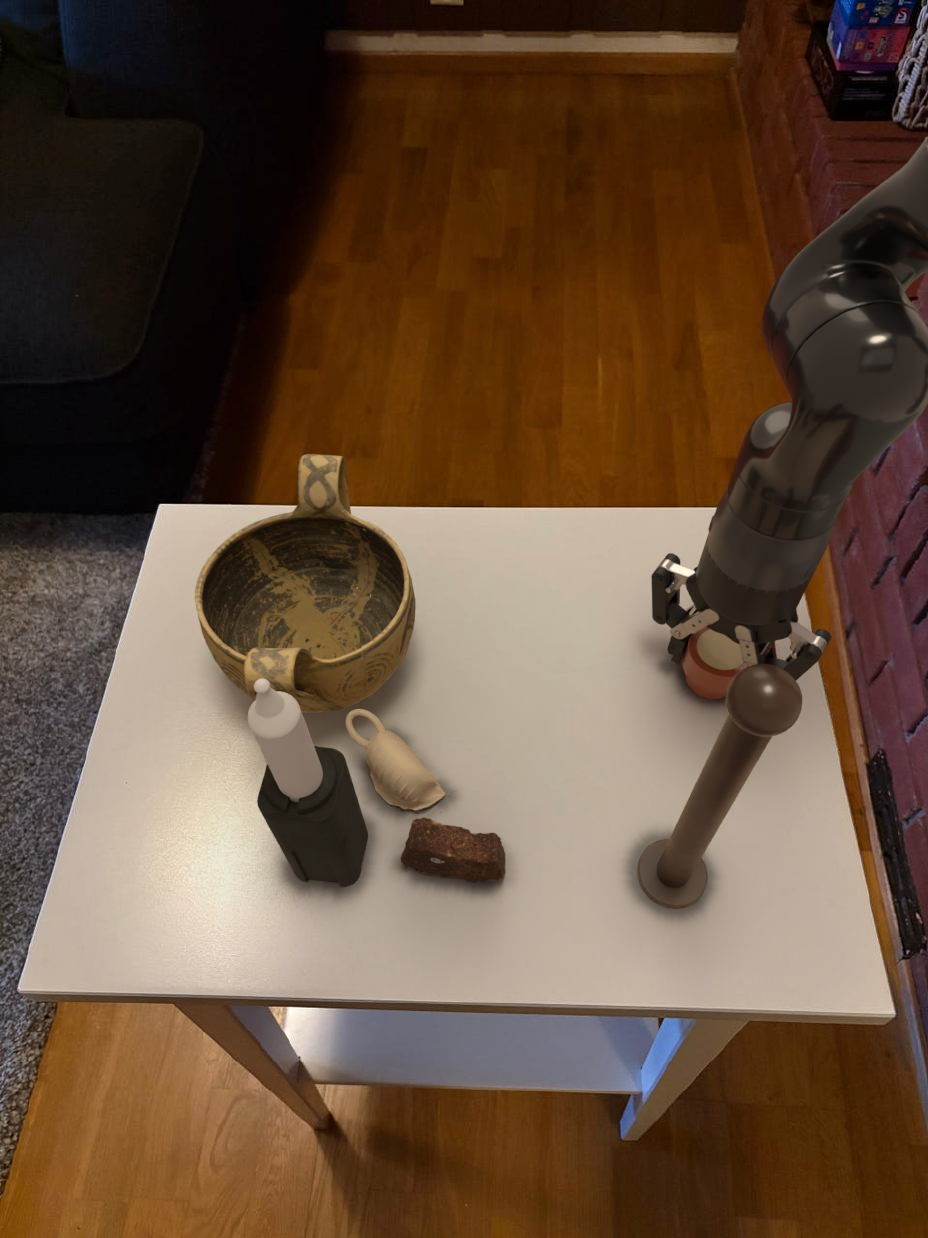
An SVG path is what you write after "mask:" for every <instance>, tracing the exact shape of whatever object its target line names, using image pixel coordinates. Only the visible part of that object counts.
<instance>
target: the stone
mask: <svg viewBox="0 0 928 1238" xmlns="http://www.w3.org/2000/svg"><path fill="white" fill-rule="evenodd" d="M501 840H502V838H501V836H499V835H498V834H497V833H496V832H488V833H485V832H483V833H482V832H478V833H472V831H470V829H468V828H464V827H462V826H457V825H451V824H450V825H449V824H442V823H441V822H436V821H435V820H433V819H432V818H427V817H421V818H414V819H413V820H412V822H411V826H410V829H409V832H408V837H407V839H406V840H405V843H404V844H405V847H404V849H403V851H402V853H401V855H400V862H401V864H402V865H404V866H405V867H407V868H409V869H411V870H415V871H416V872H419V873H424V874H426V875H427V876H436V877H441V878H452V877H453V878H458V879H464V880H466V881H467V882H470V883H474V884H475V883H477V882H478V883H482V882H487V881H500V880H503V879H504V877H505V875H506V851H505V848H504V846H503V842H502V841H501Z"/></svg>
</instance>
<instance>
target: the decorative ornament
mask: <svg viewBox="0 0 928 1238" xmlns="http://www.w3.org/2000/svg"><path fill="white" fill-rule="evenodd" d="M356 716H361V717H365V718H366V719H368V720H369V721H370V722H372V724H373V725H374V727H375V728H376V729H377V732H376V733H375V734H373V735H372V736H371V738H370V739H366V738H364V737H363V736H362V735H360V734H359V733H358V732H357V730H356V729H355V728H354V725H353V719H354V717H356ZM345 727H346V730H347V733H348V735H350V737H351V738H352V739H353V740H354V741H355V742H356V743H357V744H358V745H360V746H362V747H364V748H365V750H364V752H365V760H366V763H367V765H368V767H369V770H370V775H369V776H370V779H371V781H372V783H373V787H374V790H375V792H376V793H377V794H378V795H380V796H381V797H382V799H383V800H384V802H386V803H387V804H389V805H391V806H397V807H399V808H401V809H402V810H409V809H411V810H413V811H420V810H423V809H427V808H429V807H431V806H434V805H435V804H437V802H439V801H440V800H442V799H443V798H444V797H445V796H446V793H445V791H444V790H443V788H442V787H441V785H440V784H439V781H437V779H436V777H435V776H434V774H433V773H432V772H431V770H430V769H429V768H428V767H427V766H426V764H425V763H424V762H423V761H422V760H421V758H419V756H418V755H417V754H416V753H415V752H414V751H413V750H412V748H410V746H408V744H407V743H406V742H405V741H404V740H403V739H402V738H401V737H400V736H398V735H397V734H396V733H394V732H393V731H390V730H388V729H385V727H384V724H383V723H382V721H381V720H380V719H379V717H378V716H376V715H375V714H374V713H372V712H371V711H370V710H367V709H363V708H354V709H352V710H350V711H349V712H348V713H347V715H346V717H345Z"/></svg>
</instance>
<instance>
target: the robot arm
mask: <svg viewBox="0 0 928 1238" xmlns="http://www.w3.org/2000/svg"><path fill="white" fill-rule="evenodd" d="M927 272H928V136H926V137H924V139H923V140H922V141H921V143H920V144H919V146H917V148H916V149H915V151H914V152H913V154H912V155H911V156H910V158H909V159H908V160H907V162H905V164H903V165H902V166H901V167H900V168H899V169H898V170H896V171H895V172H894V173H892V175H891V176H889V177H888V178H887V179H885V180H884V181H882V182H881V183H880V184H879V185H877V186H876V187H874V188H873V189H872V190H871V191H869V192H868V193H866V194H865V195H864V196H863V197H862V198H861V199H860V200H858V201H857V202H856V203H855V204H854V205H852V207H850V208H849V209H848V210H847V211H846V212H844V213H843V214H842V215H841V216H839V217H838V218H837V219H836V220H835V221H834V222H832V223H831V224H830V225H829V226H828V227H827V228H825V229H824V230H823V231H822V232H820V233H819V234H818V235H817V236H816V237H814V239H812V240H811V241H810V242H809V243H807V244H806V245H805V246H804V248H802V249H801V250H800V251H799V252H798V253H797V254H796V255H795V256H794V258H792V259H791V261H790V262H789V263H788V264H787V265H786V267H785V268H784V269H783V270H782V272H781V273H780V274H779V276H778V278H777V279H776V281H775V283H774V284H773V286H772V288H771V290H770V292H769V294H768V296H767V299H766V302H765V305H764V308H763V312H762V316H761V325H760V326H761V327H760V329H761V335H762V340H763V343H764V345H765V347H766V350H767V352H768V354H769V356H770V358H771V360H772V362H773V364H774V366H775V368H776V370H777V373H778V375H779V376H780V378H781V381H782V383H783V384H784V387H785V389H786V391H787V393H788V395H789V397H790V399H791V401H790V400H789V401H784V402H780V403H777V404H775V405H772V406H770V407H769V408H766V410H764V411H762V412H761V413H760V414H759V415H758V416H757V417H756V418H755V419H754V420H753V421H752V423H751V424H750V426H749V427H748V429H747V432H746V433H745V435H744V438H743V440H742V443H741V445H740V447H739V451H738V453H737V456H736V458H735V459H736V460H735V462H734V465H733V469H732V472H731V475H730V477H729V480H728V485H727V487H726V489H725V491H724V492H723V494H722V496H721V498H720V500H719V502H718V504H717V506H716V509H715V512H714V514H713V515H712V517H711V519H710V522H709V526H708V529H707V530H708V533H707V537H706V540H705V542H704V545H703V549H702V552H701V555H700V558H699V561H698V564H697V566H696V567H694V569H692V568H690V567H687V566H685V565H681V558H680V557H679V556H678V555H677V554H675V553H673V552H672V553H671V552H669V553H667V554H666V555H665V557H664V558H663V559H662V560H661V562H660V563H659V564H658V566H657V567H656V568H655V570H654V571H653V572H652V574H651V616H652V619H653V621H654V622H655V623H656V624H658V625H665V624H666V625H667V627H669V628H670V630H669V631H670V634H671V635H670V638H669V641H668V644H667V647H666V650H667V654H669V655H670V656H671V659H670V662H672V663H673V664H676V665H677V666H679V665H680V663H682V660H683V654H684V651H685V649H686V646H687V643H688V640H689V637H690V635H691V634H695V633H697V632H698V631H700V630H702V629H703V628H705V627H707V628H709V629H711V630H713V631H715V632H717V633H720V634H723V635H725V636H727V637H728V638H729V639H731V640H732V641H733V642H735V643H737V644H739V645H740V649H741V654H742V659H743V662H747V666H751V665H755V664H770V665H775V666H777V667H780V668H782V669H784V670H785V671H787V672H788V673H789V674H790V675H791V676H792V677H793V678H794V679H795V680H796V681H798V680H799V679H800V678H801V677H802V676H803V675H804V674H806V673H807V672H808V671H810V669H811V668H813V667H814V665H816V664H817V663H818V662H819V660H820V658H821V657H822V655H823V654H824V652H825V650H826V649H827V647H828V645H829V643H830V642H831V640H832V634H831V633H830V632H829V631H828V630H826V629H824V628H817V629H815V631H814V632H813V631H811V630H810V629H808V628H806V627H805V626H804V625H802V624H801V623H799V616H798V611H797V610H798V609H797V608H798V606H799V604H800V602H801V600H802V599H803V597H804V594H805V592H806V590H807V588H808V586H809V584H810V582H811V580H812V578H813V576H814V575H815V573H816V571H817V570H818V567H819V565H820V562H821V561H822V558H823V556H824V554H825V552H826V551H827V548H828V546H829V543H830V541H831V539H832V535H833V531H834V527H835V523H836V521H837V519H838V517H839V516H840V513H841V511H842V509H843V507H844V505H845V504H846V502H847V499H848V497H849V495H850V494H851V491H852V489H853V487H854V484H855V483H856V480H857V479H858V478H859V477H860V476H861V475H862V474H863V473H864V472H865V471H866V470H867V469H869V467H870V466H871V465H872V464H874V463H875V462H876V461H877V460H878V459H879V458H880V457H881V456H882V455H883V453H885V451H886V450H887V449H888V448H889V447H891V446H892V445H893V443H894V442H895V441H897V439H899V437H900V436H902V434H903V433H905V432H906V431H907V430H908V429H909V428H910V427H911V426H912V425H913V424H914V423H915V422H916V420H917V419H918V418H919V417H920V416H921V415H922V413H923V412H924V410H925V409H926V408H927V407H928V326H927V323H926V322H925V321H924V319H923V318H922V317H921V315H920V314H919V312H918V310H917V309H916V307H915V306H914V305H913V303H912V302H911V300H910V299H909V297H908V295H907V294H906V293H905V292H906V291H907V290H908V289H909V287H910V286H911V285H912V284H913V283H914V282H915V281H916V280H917V279H918V278H920V277H921V276H922V275H924V274H925V273H927ZM683 585H684V586H685V589H686V591H687V593H688V595H689V597H690V600H691V601H692V603H693V604H692V605H690V606H689V607H687V608H686V609H685V608H683V607H682V606H681V605H680V604H681V587H682V586H683ZM787 638H788V639H789V640H790V642H791V644H790V646H789V649H790V651H791V653H790V654H789V655H788V656H787V657H786V658H785V659H782V658H778V654H777V649H776V641H781V640H785V639H787Z"/></svg>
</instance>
